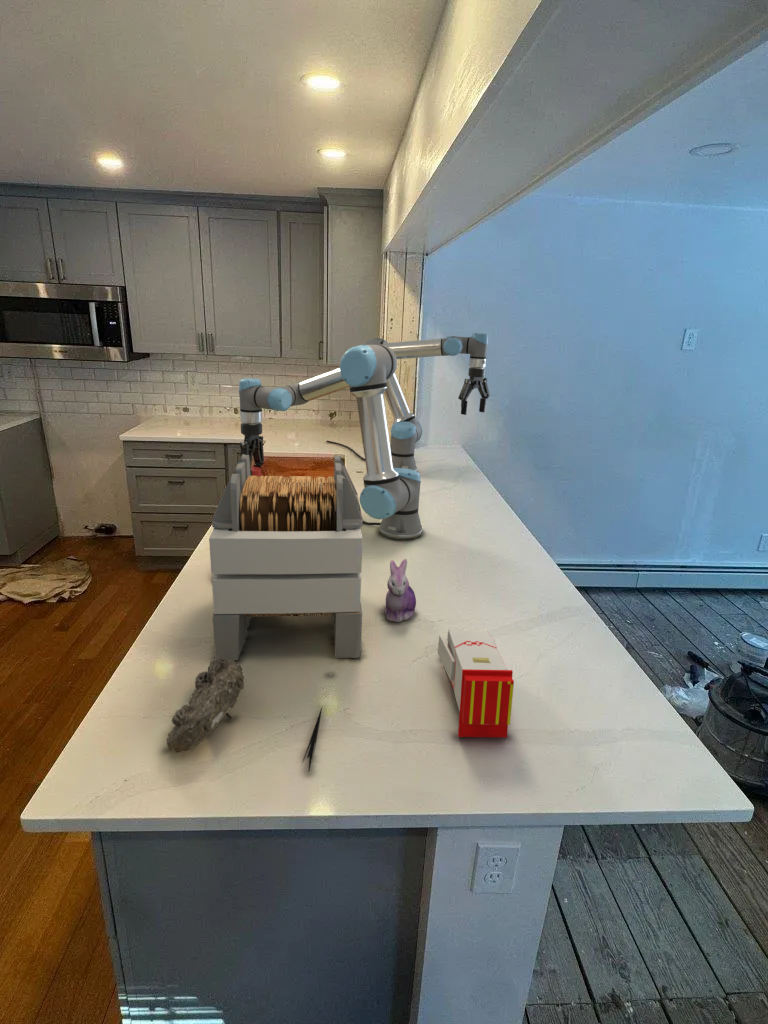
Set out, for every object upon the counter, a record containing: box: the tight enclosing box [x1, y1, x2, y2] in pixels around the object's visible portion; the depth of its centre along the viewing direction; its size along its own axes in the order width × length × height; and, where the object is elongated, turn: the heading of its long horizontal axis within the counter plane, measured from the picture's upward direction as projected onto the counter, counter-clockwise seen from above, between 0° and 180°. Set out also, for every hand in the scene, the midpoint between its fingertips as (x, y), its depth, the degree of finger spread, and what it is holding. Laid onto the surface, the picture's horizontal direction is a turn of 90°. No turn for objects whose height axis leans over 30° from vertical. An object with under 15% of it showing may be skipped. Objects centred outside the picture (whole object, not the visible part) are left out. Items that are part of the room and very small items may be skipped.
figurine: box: [384, 558, 417, 623], centre depth 145 cm, size 9×10×15 cm
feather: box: [301, 673, 332, 771], centre depth 108 cm, size 2×28×2 cm
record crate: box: [208, 454, 364, 661], centre depth 135 cm, size 34×33×41 cm
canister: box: [251, 466, 263, 477], centre depth 210 cm, size 6×6×9 cm
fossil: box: [166, 659, 245, 754], centre depth 106 cm, size 22×10×15 cm
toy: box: [437, 628, 515, 738], centre depth 117 cm, size 12×13×30 cm
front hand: (253, 484), depth 211 cm, fingers closed on canister, 6 cm apart
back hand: (472, 413), depth 272 cm, fingers open, 13 cm apart
